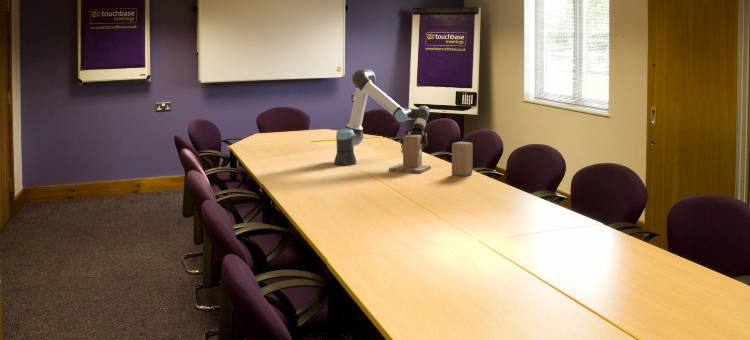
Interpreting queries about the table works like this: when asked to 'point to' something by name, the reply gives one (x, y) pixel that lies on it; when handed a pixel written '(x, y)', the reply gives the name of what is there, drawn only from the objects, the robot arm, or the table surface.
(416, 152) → the wooden block
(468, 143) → the block
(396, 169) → the marked board
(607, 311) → the table surface
